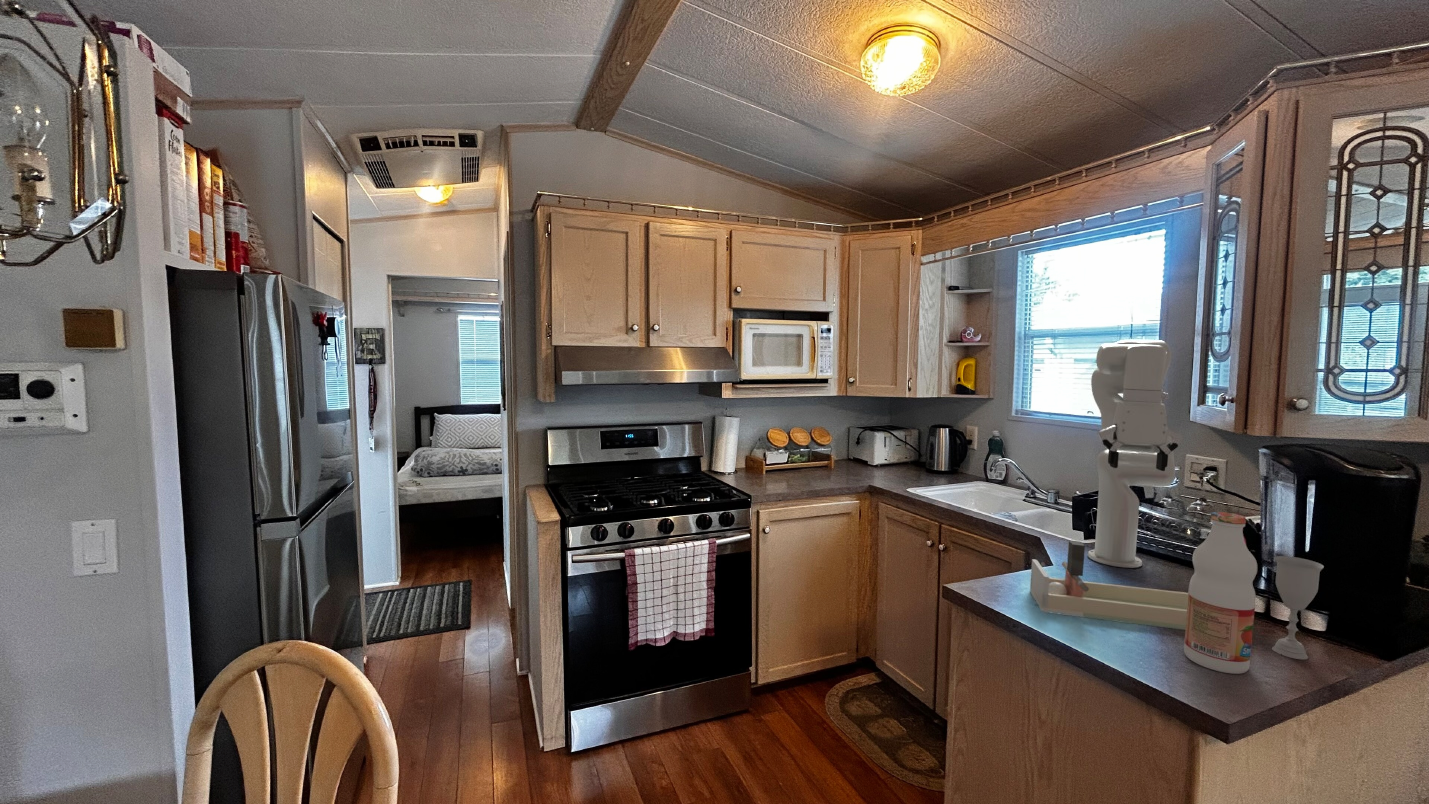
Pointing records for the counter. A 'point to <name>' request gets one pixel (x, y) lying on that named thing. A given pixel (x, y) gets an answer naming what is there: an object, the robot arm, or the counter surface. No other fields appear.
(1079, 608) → the cream long tray
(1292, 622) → the chalice
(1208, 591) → the fruit juice
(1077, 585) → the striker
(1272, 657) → the counter surface
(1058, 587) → the ball
